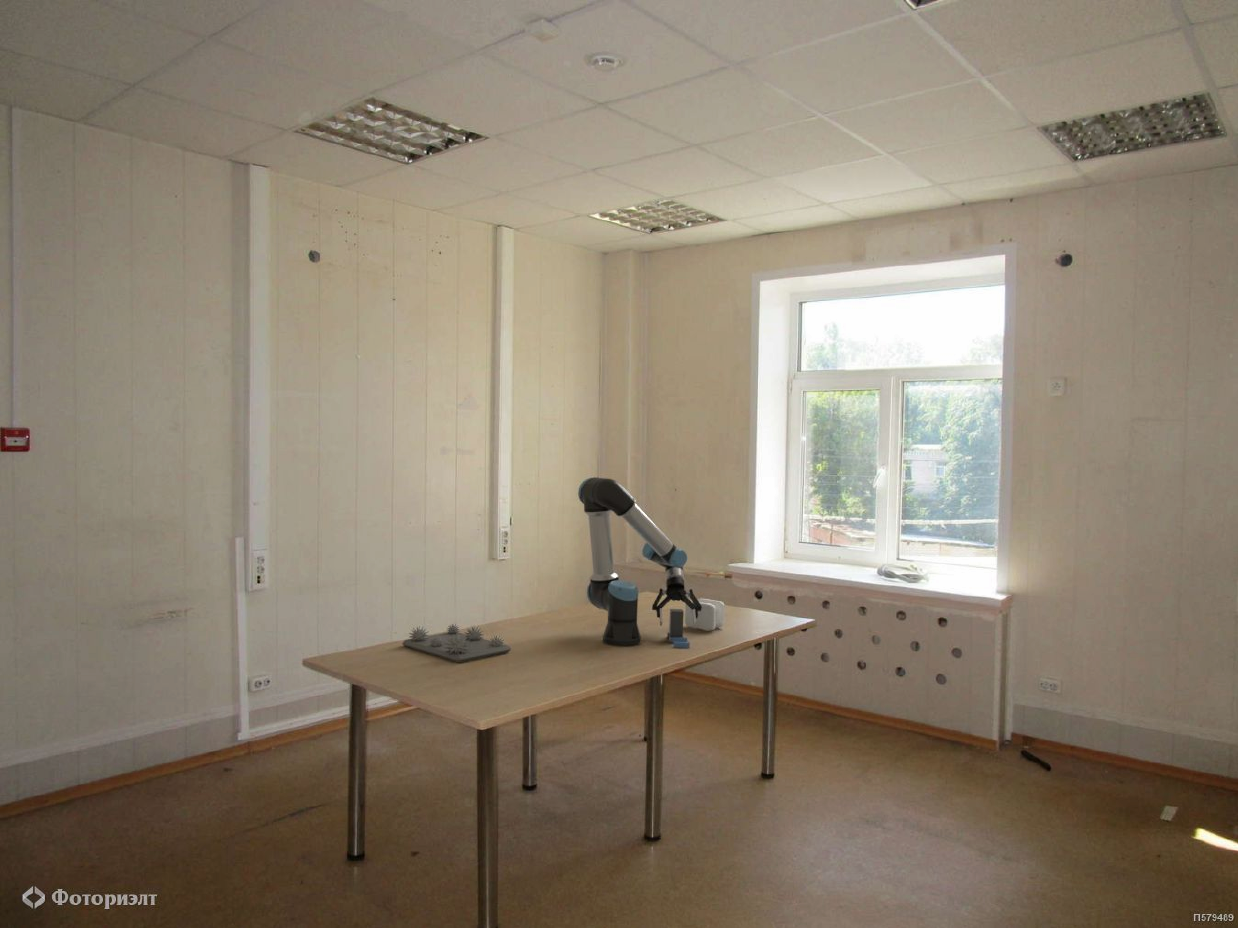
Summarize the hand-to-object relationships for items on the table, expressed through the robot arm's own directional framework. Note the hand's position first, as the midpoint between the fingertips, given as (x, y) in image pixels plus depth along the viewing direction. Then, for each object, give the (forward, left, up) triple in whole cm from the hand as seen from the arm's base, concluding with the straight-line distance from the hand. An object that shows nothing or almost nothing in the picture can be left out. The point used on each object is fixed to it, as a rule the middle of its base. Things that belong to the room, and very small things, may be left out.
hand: (678, 624), depth 333 cm
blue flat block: (0, -9, -6) cm, 11 cm away
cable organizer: (+14, +24, -7) cm, 29 cm away
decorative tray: (-85, -24, -7) cm, 89 cm away
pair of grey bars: (-1, 0, -6) cm, 6 cm away
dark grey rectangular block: (-1, 0, -6) cm, 6 cm away
